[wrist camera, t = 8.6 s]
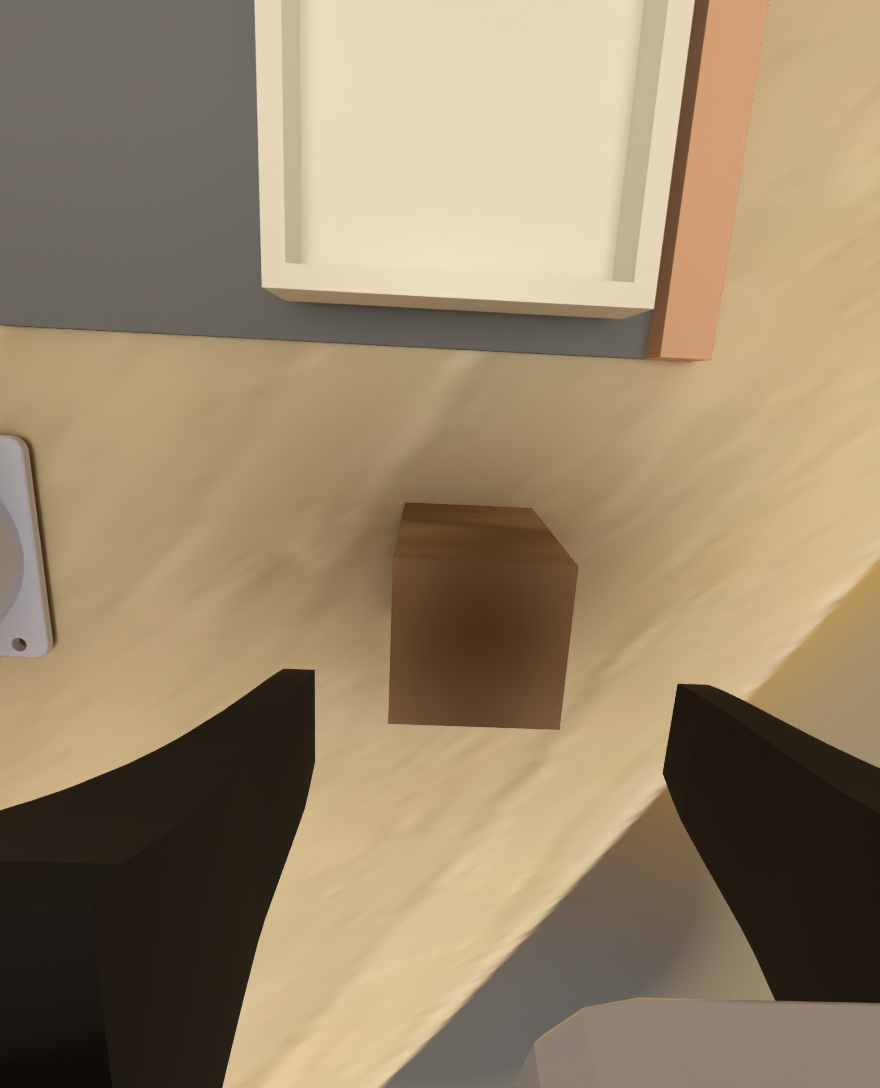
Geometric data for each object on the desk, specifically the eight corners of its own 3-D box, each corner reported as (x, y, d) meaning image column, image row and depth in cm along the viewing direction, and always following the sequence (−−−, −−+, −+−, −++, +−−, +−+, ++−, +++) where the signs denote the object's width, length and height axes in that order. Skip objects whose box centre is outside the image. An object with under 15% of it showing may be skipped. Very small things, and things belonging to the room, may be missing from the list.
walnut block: (401, 620, 22) (388, 723, 16) (405, 502, 21) (393, 558, 14) (520, 625, 23) (559, 729, 16) (531, 508, 21) (578, 566, 15)
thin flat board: (2, 324, 19) (-35, 320, 18) (-92, -391, 15) (-152, -479, 14) (689, 361, 20) (711, 359, 19) (791, -317, 16) (831, -394, 14)
